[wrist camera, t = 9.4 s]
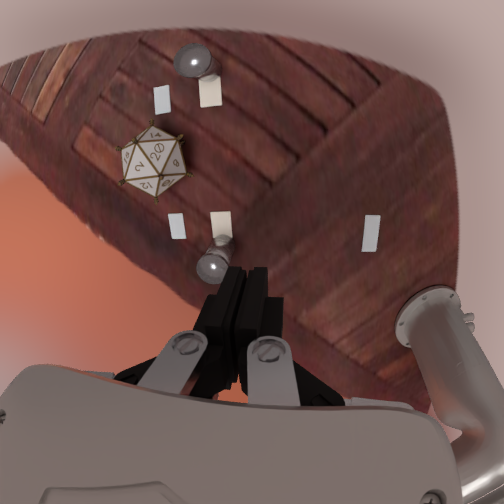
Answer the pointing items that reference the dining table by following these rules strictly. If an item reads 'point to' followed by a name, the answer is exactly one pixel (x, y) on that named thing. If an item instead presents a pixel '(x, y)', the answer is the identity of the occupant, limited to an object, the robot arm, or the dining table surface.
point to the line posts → (206, 69)
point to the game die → (153, 161)
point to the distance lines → (222, 220)
